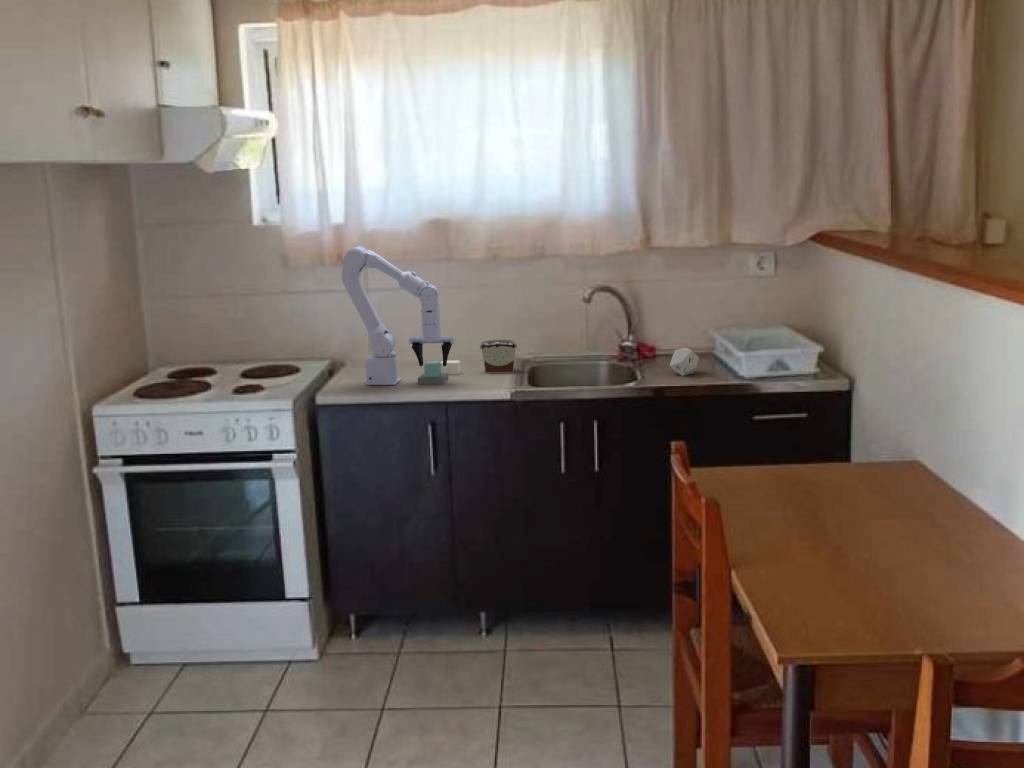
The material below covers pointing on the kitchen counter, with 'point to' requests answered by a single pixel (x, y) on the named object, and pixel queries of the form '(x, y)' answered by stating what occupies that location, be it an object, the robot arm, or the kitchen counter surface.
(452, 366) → the cream brick
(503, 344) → the food container
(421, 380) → the charcoal slab
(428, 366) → the teal brick
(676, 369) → the die
